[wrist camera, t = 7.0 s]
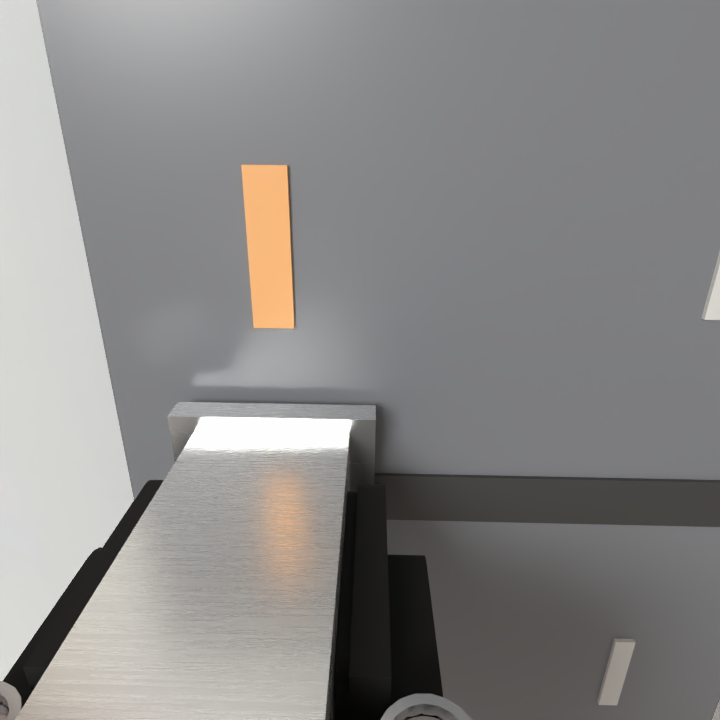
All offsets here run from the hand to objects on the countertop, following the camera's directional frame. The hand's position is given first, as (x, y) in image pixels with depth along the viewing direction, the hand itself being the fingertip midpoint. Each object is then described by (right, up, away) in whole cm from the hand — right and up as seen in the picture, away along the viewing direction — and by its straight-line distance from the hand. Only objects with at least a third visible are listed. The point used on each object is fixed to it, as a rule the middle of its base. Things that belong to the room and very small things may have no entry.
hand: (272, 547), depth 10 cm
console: (+4, +2, +4) cm, 6 cm away
